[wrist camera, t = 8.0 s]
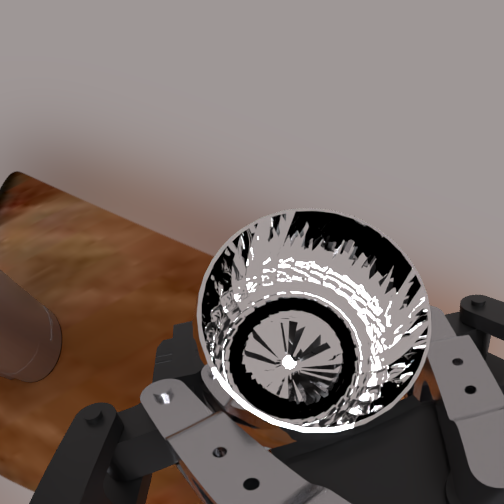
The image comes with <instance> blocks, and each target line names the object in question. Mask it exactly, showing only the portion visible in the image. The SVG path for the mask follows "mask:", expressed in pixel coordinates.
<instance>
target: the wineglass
mask: <svg viewBox="0 0 504 504" xmlns="http://www.w3.org/2000/svg"><path fill="white" fill-rule="evenodd" d="M430 338H431V311H430V306H429V301H428V295H427V293H426V290H425V287H424V285H423V282H422V280H421V277H420V275H419V273H418V272H417V270H416V268H415V267H414V265H413V263H412V262H411V260H410V259H409V257H408V256H407V255H406V254H405V253H404V252H403V250H402V249H401V248H400V247H399V246H398V245H397V244H396V243H395V242H394V241H393V240H392V239H391V238H389V237H388V236H387V235H386V234H384V233H383V232H382V231H380V230H379V229H378V228H376V227H374V226H372V225H370V224H369V223H367V222H365V221H363V220H361V219H359V218H357V217H354V216H351V215H348V214H344V213H341V212H336V211H333V210H328V209H316V208H301V209H292V210H284V211H281V212H277V213H274V214H271V215H268V216H265V217H262V218H260V219H258V220H256V221H254V222H253V223H251V224H249V225H248V226H246V227H244V228H242V229H241V230H239V231H238V232H237V233H235V235H233V236H232V237H231V238H230V239H229V240H228V241H227V242H226V243H225V244H224V245H223V246H222V247H221V248H220V250H219V251H218V252H217V254H216V255H215V257H214V258H213V259H212V261H211V263H210V265H209V267H208V269H207V271H206V273H205V275H204V278H203V281H202V284H201V287H200V290H199V293H198V296H197V299H196V305H195V311H194V316H193V320H192V331H191V353H192V361H193V366H194V371H195V375H196V379H197V382H198V384H199V387H200V389H201V391H202V393H203V395H204V397H205V399H206V401H207V403H208V404H209V406H210V407H211V408H212V410H213V411H214V412H216V411H218V410H221V411H223V412H224V413H225V414H226V415H227V416H228V417H230V418H231V419H232V420H233V421H234V422H235V423H236V424H237V425H238V426H240V427H241V428H242V429H243V430H244V431H245V432H246V433H248V434H249V435H250V436H251V437H252V438H253V439H254V440H256V441H257V442H258V443H259V444H260V445H262V446H264V447H268V448H276V447H279V446H283V445H286V444H289V443H293V442H296V441H304V442H317V441H323V440H329V439H334V438H339V437H343V436H347V435H349V434H352V433H354V432H356V431H359V430H361V429H363V428H366V427H368V426H370V425H372V424H373V423H375V422H376V421H377V420H379V419H380V418H381V417H383V416H384V415H385V414H386V413H388V412H389V411H390V410H391V409H393V408H394V407H395V405H396V404H397V403H398V402H399V401H400V400H401V399H402V398H403V396H404V395H405V394H406V393H407V392H408V391H409V389H410V388H411V387H412V385H413V384H414V382H415V381H416V379H417V378H418V376H419V374H420V372H421V370H422V367H423V365H424V363H425V360H426V357H427V353H428V350H429V345H430Z"/></svg>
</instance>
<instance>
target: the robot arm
mask: <svg viewBox="0 0 504 504" xmlns="http://www.w3.org/2000/svg"><path fill="white" fill-rule="evenodd" d="M430 311H431V338H430V345H429V350H428V353H427V357H426V360H425V363H424V365H423V367H422V370H421V372H420V374H419V376H418V378H417V379H416V381H415V382H414V384H413V385H412V387H411V388H410V389H409V391H408V392H407V393H406V394H405V395H404V399H403V400H401V401H399V402H398V403H397V404H396V405H395V407H394V408H393V409H391V410H390V411H389V412H388V413H386V414H385V415H384V416H383V417H381V418H380V419H379V420H377V421H376V422H375V423H373V424H372V425H370V426H368V427H366V428H363V429H361V430H359V431H356V432H354V433H352V434H349V435H347V436H343V437H339V438H334V439H329V440H323V441H317V442H304V441H296V442H293V443H289V444H286V445H283V446H279V447H276V448H272V449H271V452H272V454H271V453H270V452H269V451H268V450H266V449H265V448H264V447H263V446H262V445H260V444H259V443H258V442H257V441H256V440H254V439H253V438H252V437H251V436H250V435H249V434H248V433H246V432H245V431H244V430H243V429H242V428H241V427H240V426H238V425H237V424H236V423H235V422H234V421H233V420H232V419H231V418H230V417H228V416H227V415H226V414H225V413H224V412H223V411H221V410H218V411H216V412H215V413H213V410H212V408H211V407H210V406H209V404H208V403H207V401H206V399H205V397H204V395H203V393H202V391H201V389H200V387H199V384H198V382H197V379H196V375H195V371H194V366H193V361H192V353H191V331H192V321H190V322H186V323H181V324H177V325H174V329H173V338H172V339H167V340H163V341H162V343H161V344H160V345H159V346H158V348H157V352H156V359H155V367H154V374H153V382H152V384H150V385H149V386H147V387H146V388H145V389H144V390H143V392H142V393H141V396H140V401H141V403H140V404H138V405H136V406H134V407H132V408H129V409H126V410H124V411H121V412H118V413H117V412H116V410H115V408H114V407H113V406H112V405H111V404H108V403H95V404H91V405H89V406H87V407H85V408H83V409H82V410H81V411H80V412H79V413H78V414H77V415H76V416H75V418H74V420H73V422H72V423H71V425H70V427H69V429H68V430H67V432H66V434H65V436H64V438H63V439H62V441H61V443H60V445H59V447H58V449H57V450H56V452H55V454H54V456H53V458H52V460H51V462H50V463H49V465H48V467H47V469H46V471H45V473H44V475H43V477H42V479H41V481H40V483H39V485H38V487H37V489H36V491H35V493H34V495H33V497H32V499H31V501H30V503H29V504H145V503H146V499H147V494H148V490H149V486H150V482H151V477H152V473H153V472H156V471H158V470H161V469H163V468H166V467H168V466H171V465H173V464H175V465H176V467H177V468H178V470H179V471H180V472H181V474H182V475H183V476H184V478H185V479H186V481H187V482H188V483H189V485H190V486H191V487H192V489H193V490H194V491H195V492H196V494H197V495H198V496H199V498H200V499H201V500H202V502H203V503H204V504H504V360H503V359H501V358H499V357H497V356H495V355H493V354H491V353H488V348H489V343H490V338H491V335H492V336H494V337H497V338H499V339H501V340H504V302H502V301H499V300H496V299H493V298H490V297H487V296H483V295H470V296H467V297H465V298H463V299H462V300H461V303H460V312H456V313H451V314H447V315H444V313H443V312H442V311H441V310H440V309H439V308H437V307H433V306H430ZM61 338H62V335H61V329H60V326H59V323H58V320H57V319H56V317H55V315H54V314H53V313H52V312H51V311H50V310H49V309H48V308H46V307H45V306H44V305H42V304H41V303H40V302H39V301H37V300H36V299H35V298H33V297H32V296H31V295H30V294H29V293H27V292H26V291H25V290H24V289H23V288H21V287H20V286H19V285H18V284H17V283H15V282H14V281H13V280H12V279H11V278H10V277H8V276H7V275H6V274H5V273H4V272H3V271H2V270H0V376H2V377H4V378H7V379H10V380H12V379H14V378H16V379H19V380H21V381H25V382H36V381H38V380H41V379H43V378H44V377H45V376H46V375H48V374H49V373H50V371H51V370H52V369H53V368H54V366H55V364H56V362H57V360H58V357H59V354H60V350H61Z"/></svg>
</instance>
